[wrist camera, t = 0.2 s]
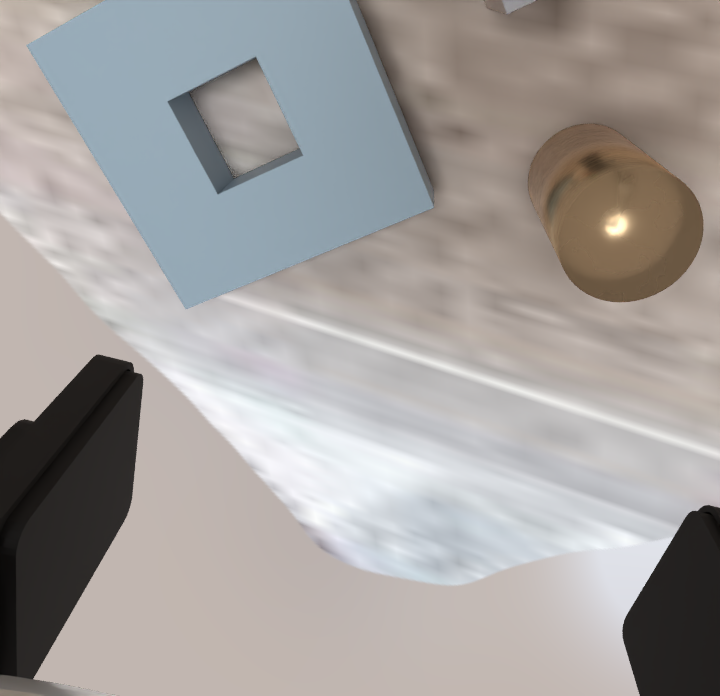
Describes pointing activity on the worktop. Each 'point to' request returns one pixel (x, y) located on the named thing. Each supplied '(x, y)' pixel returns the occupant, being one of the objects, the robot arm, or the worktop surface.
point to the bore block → (198, 150)
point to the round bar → (613, 214)
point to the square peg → (506, 5)
